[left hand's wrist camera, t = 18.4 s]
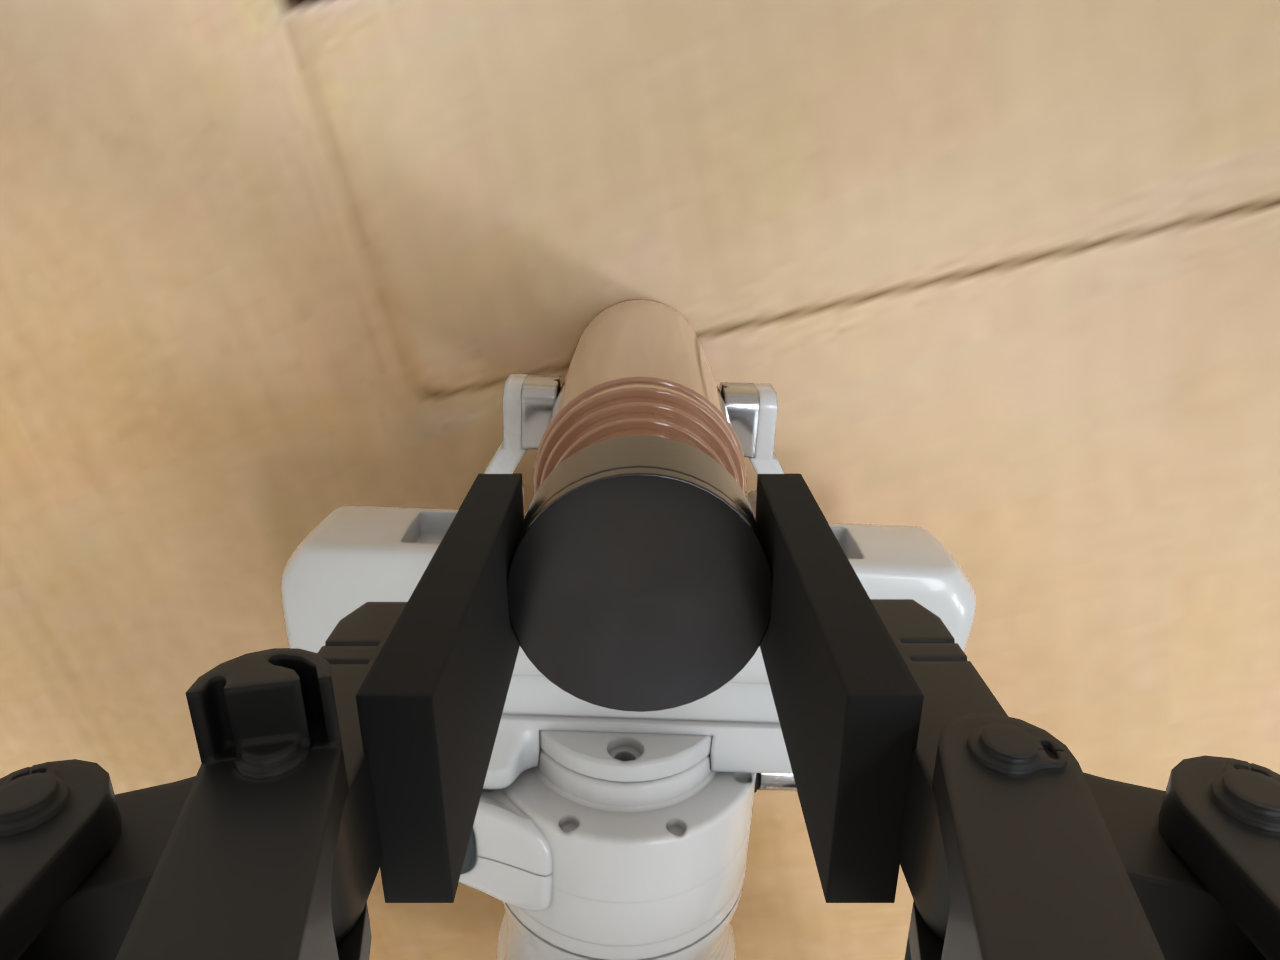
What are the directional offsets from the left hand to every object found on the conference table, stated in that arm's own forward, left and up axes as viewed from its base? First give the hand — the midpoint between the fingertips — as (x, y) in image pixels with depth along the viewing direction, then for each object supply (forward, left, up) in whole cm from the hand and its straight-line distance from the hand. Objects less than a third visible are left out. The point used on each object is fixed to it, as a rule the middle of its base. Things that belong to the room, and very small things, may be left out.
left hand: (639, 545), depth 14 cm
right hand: (-1, 0, -9) cm, 9 cm away
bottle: (0, 0, -15) cm, 15 cm away
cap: (0, 0, +2) cm, 2 cm away
